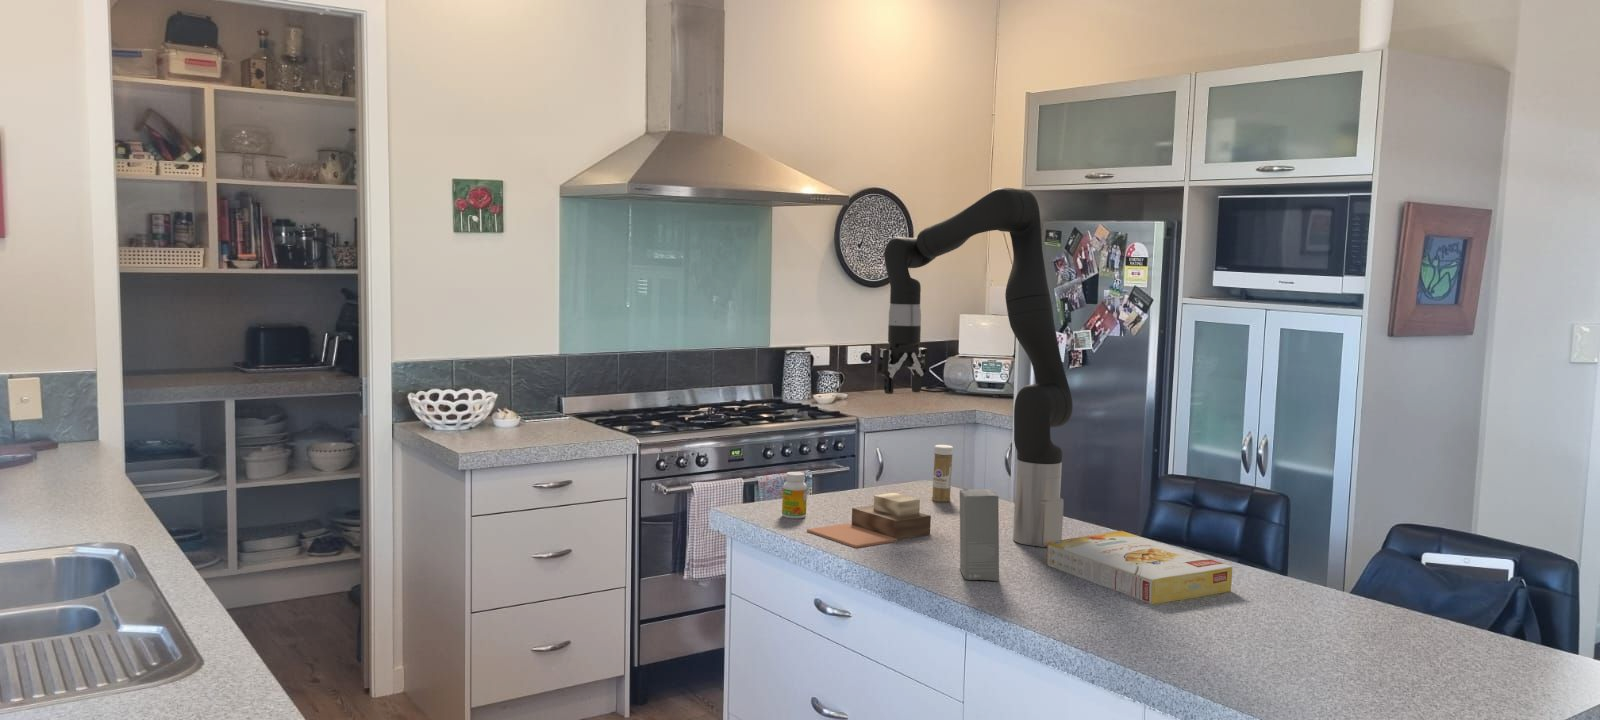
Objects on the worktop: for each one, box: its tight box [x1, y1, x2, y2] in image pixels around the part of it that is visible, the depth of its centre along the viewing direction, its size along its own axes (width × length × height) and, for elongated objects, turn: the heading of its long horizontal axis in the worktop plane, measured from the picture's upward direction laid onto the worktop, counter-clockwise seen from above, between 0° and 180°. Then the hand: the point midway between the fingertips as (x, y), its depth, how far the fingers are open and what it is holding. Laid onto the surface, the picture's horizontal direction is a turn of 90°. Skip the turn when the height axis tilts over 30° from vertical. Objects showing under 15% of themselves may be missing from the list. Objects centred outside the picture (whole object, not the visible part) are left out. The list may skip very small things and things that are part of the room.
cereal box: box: [1046, 530, 1233, 605], centre depth 221 cm, size 20×6×28 cm
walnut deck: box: [851, 504, 932, 540], centre depth 253 cm, size 14×10×4 cm
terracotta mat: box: [806, 522, 897, 549], centre depth 246 cm, size 16×11×1 cm
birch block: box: [873, 492, 921, 516], centre depth 253 cm, size 8×6×3 cm
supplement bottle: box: [781, 471, 808, 520], centre depth 263 cm, size 5×5×10 cm
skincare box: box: [959, 488, 1000, 582], centre depth 219 cm, size 8×7×16 cm
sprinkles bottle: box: [931, 444, 954, 503], centre depth 285 cm, size 5×5×14 cm
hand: (902, 392), depth 276 cm, fingers open, 8 cm apart
